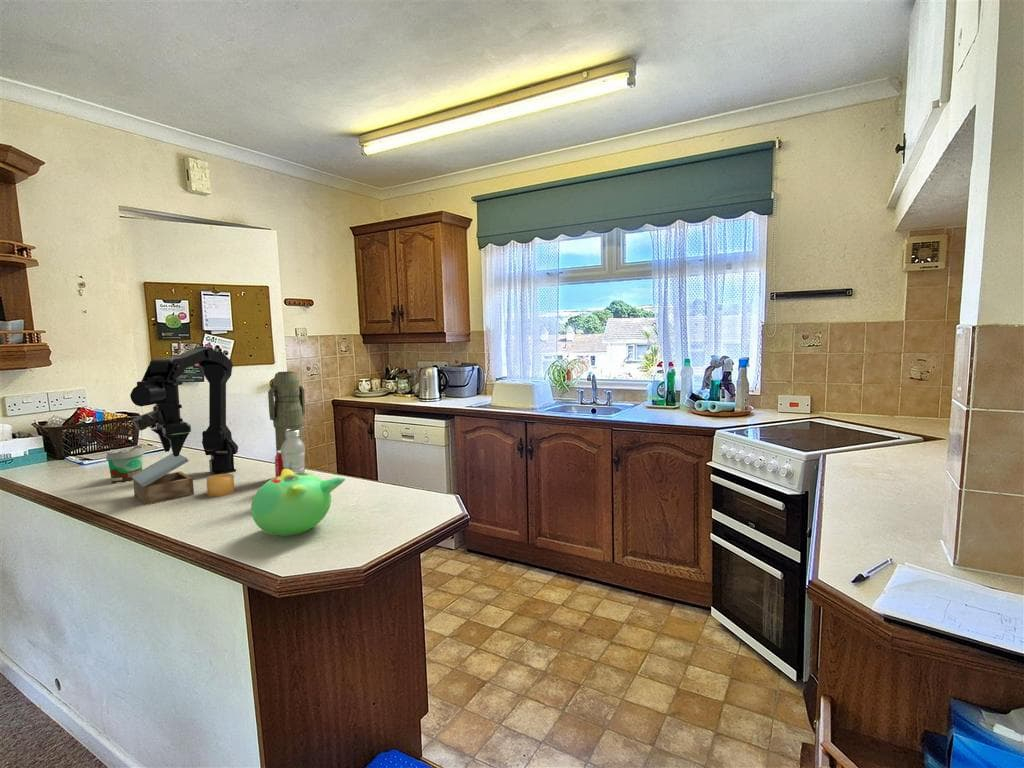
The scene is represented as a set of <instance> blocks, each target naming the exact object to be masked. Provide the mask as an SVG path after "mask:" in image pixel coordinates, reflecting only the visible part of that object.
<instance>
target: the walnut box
mask: <svg viewBox="0 0 1024 768" xmlns="http://www.w3.org/2000/svg"><path fill="white" fill-rule="evenodd" d="M132 482H133V495H134V498H136V499H137V498H138V499H139V500H138V499H137V500H138V501H140V503H142V504H143V505H144V506H147V505H146V504H148V505H151V503H152V504H155V502H157V503H160V502H161V501H162V502H166V500H167V501H171V499H172V500H175V499H180V498H185V497H190V495H191V496H195V489H194V478H193V477H191V476H190V475H188V474H186V472H185V473H184V472H183V471H181V470H180V471H175V472H173V471H172V472H169V473H167V474H166V475H164V476H162V477H161V478H159V479H157V480H155V481H154V482H152V483H150V484H148V485H147V486H145V487H143V486H141V485H140V484H139V483H137V482H136V481H135V480H134V479H133V481H132Z"/></svg>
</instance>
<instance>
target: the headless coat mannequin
mask: <svg viewBox="0 0 1024 768" xmlns="http://www.w3.org/2000/svg"><path fill="white" fill-rule="evenodd" d="M272 380H273V381H272V385H273V386H272V387H270V388H269V390H268V391H267V395H268V397H267V399H268V415H269V420H270V421H273V423H272V424H273V425H272V426H273V428H274V430H275V432H274V433H275V451H276V452H275V453H276V455H277V451H278V450H281V446H282V444H283V443H284V441H285V440H286V437H285V431H286V430H289V429H299V434H300V436H299V439H300V440H301V441H302V442H303V431H302V428H303V425H304V423H303V422H304V419H303V418H304V417H305V414H306V404H305V403H306V402H305V401H306V400H305V388H304V387H303V386H302V385H300V380H299V378H298V375H297V372H294V371H277V373H275V374H274V378H273V379H272ZM305 470H306V459H304V472H305ZM305 473H306V472H305Z"/></svg>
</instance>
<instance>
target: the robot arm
mask: <svg viewBox="0 0 1024 768" xmlns="http://www.w3.org/2000/svg"><path fill="white" fill-rule="evenodd" d="M195 365H198V366H199V367H200V368H201V369H202V371H203V376H204V377H205V379H206V381H207V382H208V384H209V389H208V390H209V391H208V392H209V395H208V398H209V401H208V404H209V406H208V411H209V412H208V414H209V415H208V417H209V418H208V419H209V420H208V421H209V422H208V424H209V425H208V427H207V428H206V430H203V431H202V432H201V435H202V439H201V440H202V441H201V443H202V447H203V451H204V454H205V456H210V458H209V460H208V462H209V463H208V464H209V472H210V473H211V474H213V475H217V474H228V473H231V472H232V471H233V472H236V471H237V469H236V468H235V461H234V455H236V454H237V453H238V451H239V445H238V444H237V443H236V442H235V441H234V440H233V438H232V437H233V436H232V431H231V429H230V428H229V427H228V426H227V382H228V381H229V379H230V378H231V376H232V372H233V368H234V367H233V366H234V365H233V362H232V360H231V359H230V358H229V357H228V356H227V355H225V354H224V353H221V352H218V351H217V350H215V348H213V347H210V346H196V347H194V348H193V349H190V350H187V351H185V352H182V353H180V354H177V355H175V356H172V357H162V358H159V357H158V358H154V359H152V360H150V362H149V364H148V366H147V369H146V371H145V373H144V374H143V377H142V379H141V380H139V381H136V386H134V387H133V388H132V389H131V391H130V394H129V396H130V400H131V402H132V403H133V404H134V405H135V406H138V407H146V406H151V405H153V406H152V411H150V412H147V413H144V414H141V415H139V416H136V417H134V418H132V419H131V421H132V423H133V424H134V427H135V428H136V430H139V431H144V430H146V429H147V428H148V429H149V428H150V430H151V431H152V432H153V433H156V434H157V435H158V437H159V440H160V443H161V445H162V447H163V451H164V453H169V452H170V450H171V452H172V453H173V456H174V457H176V456H179V454H180V453H181V450H182V449H183V447H184V444H185V442H186V440H187V438H188V436H189V434H190V432H192V427H191V424H189V423H188V422H186V421H183V420H184V419H183V418H182V417H181V409H182V408H183V407H182V406H183V405H182V404H180V394H179V393H180V392H179V391H180V390H179V386H181V385H183V384H184V383H183V381H182V380H180V379H179V378H180V377H181V376H182V375H183V374H184V373H185V370H186V369H188V368H190V367H193V366H195ZM233 472H232V473H233Z"/></svg>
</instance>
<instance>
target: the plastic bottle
mask: <svg viewBox="0 0 1024 768" xmlns="http://www.w3.org/2000/svg"><path fill="white" fill-rule="evenodd" d="M299 436H300V434H299V429H289V430H286V431H285V437H286V440H285V441H284V443H283V444H282V446H281V456H282V460H283V467H284V469H289V470H291V471H293V472H294V473H306V472H304V459H305V456H306V446H305V443H304V442H303V440H302V441H301V440H300V439H299ZM305 460H306V459H305Z"/></svg>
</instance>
